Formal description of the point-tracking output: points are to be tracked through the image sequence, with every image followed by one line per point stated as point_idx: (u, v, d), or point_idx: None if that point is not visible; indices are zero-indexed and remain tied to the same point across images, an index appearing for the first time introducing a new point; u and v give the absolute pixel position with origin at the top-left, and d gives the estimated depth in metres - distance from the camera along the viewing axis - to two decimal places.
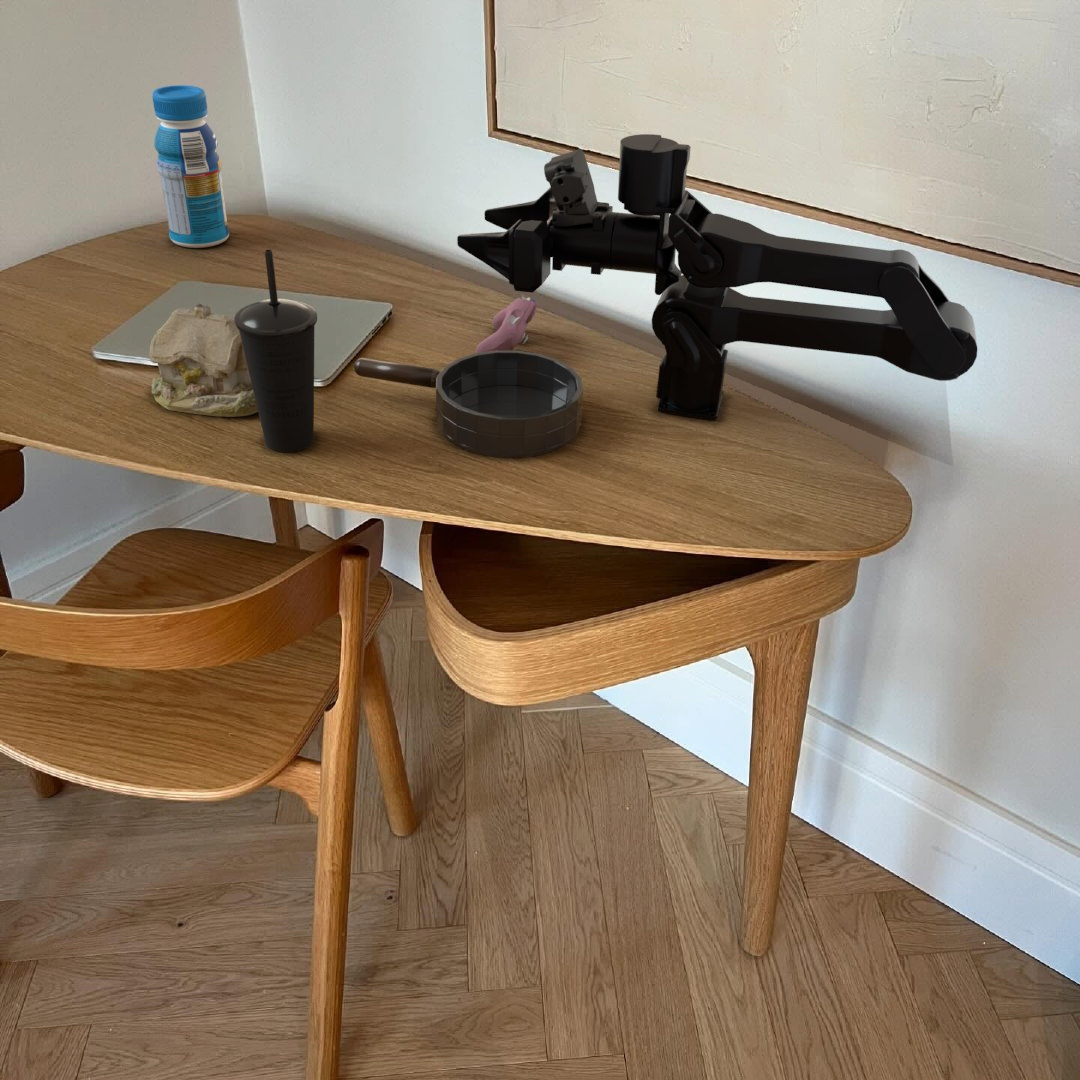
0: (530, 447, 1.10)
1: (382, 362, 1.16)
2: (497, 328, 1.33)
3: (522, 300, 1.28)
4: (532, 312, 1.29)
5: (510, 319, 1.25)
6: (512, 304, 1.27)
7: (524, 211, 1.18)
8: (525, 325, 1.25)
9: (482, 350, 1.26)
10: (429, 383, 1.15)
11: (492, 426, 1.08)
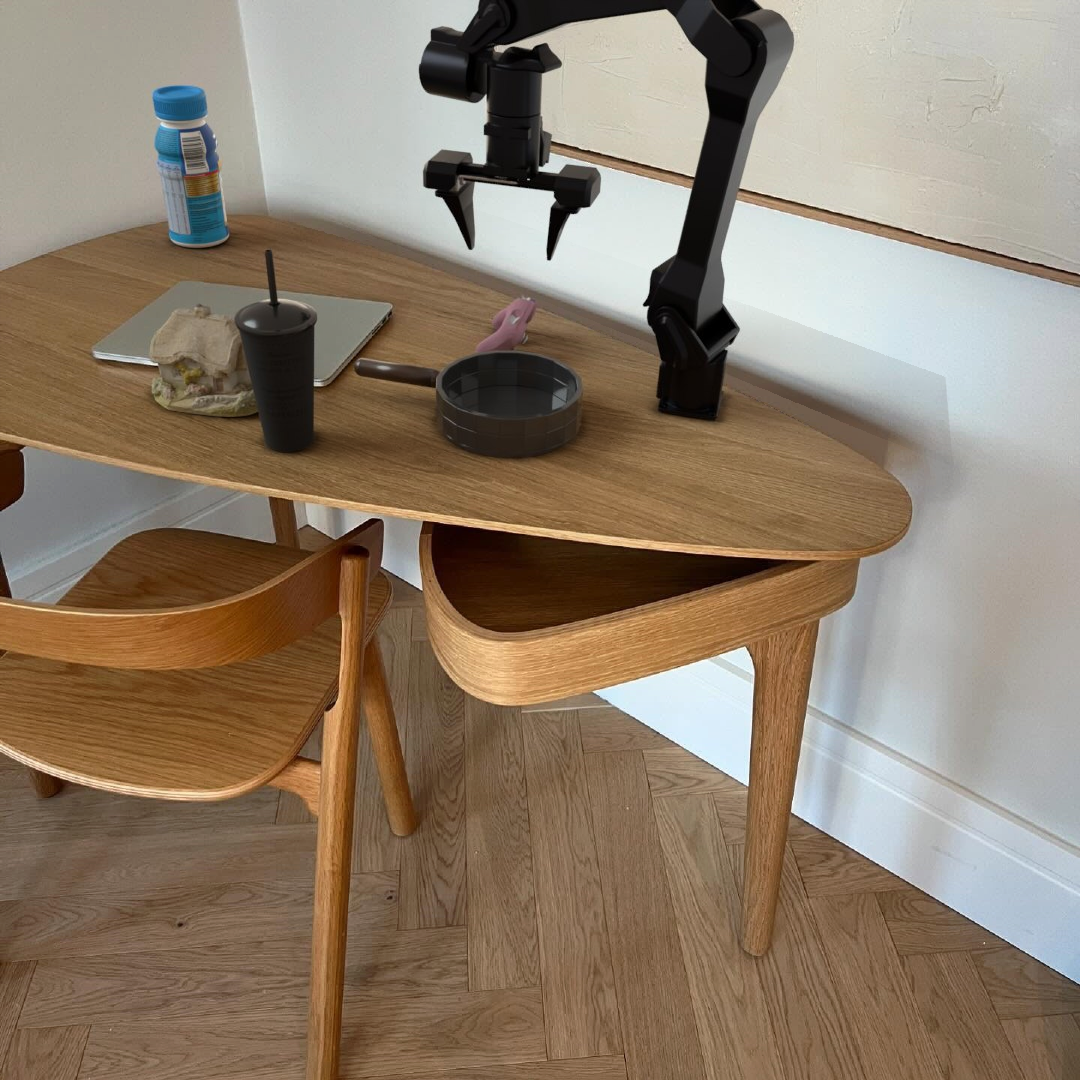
0: (530, 447, 1.10)
1: (382, 362, 1.16)
2: (497, 328, 1.33)
3: (522, 300, 1.28)
4: (532, 312, 1.29)
5: (510, 319, 1.25)
6: (512, 304, 1.27)
7: None
8: (525, 325, 1.25)
9: (482, 350, 1.26)
10: (429, 383, 1.15)
11: (492, 426, 1.08)
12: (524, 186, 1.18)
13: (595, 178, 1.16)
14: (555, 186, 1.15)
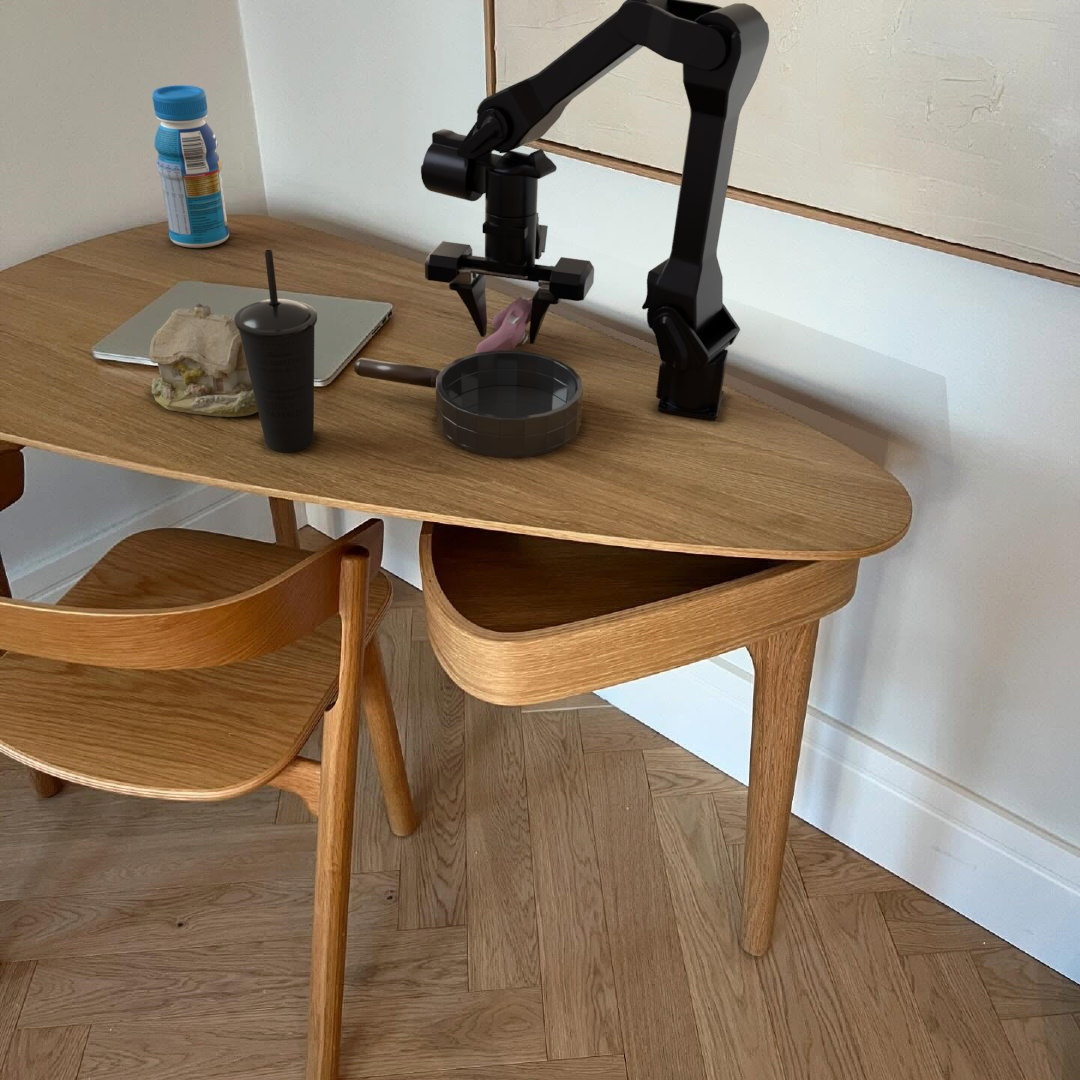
0: (530, 447, 1.10)
1: (382, 362, 1.16)
2: (497, 328, 1.33)
3: (522, 300, 1.28)
4: None
5: (510, 319, 1.25)
6: (512, 304, 1.27)
7: None
8: (525, 325, 1.25)
9: (482, 350, 1.26)
10: (429, 383, 1.15)
11: (492, 426, 1.08)
12: None
13: (588, 272, 1.22)
14: (550, 281, 1.21)
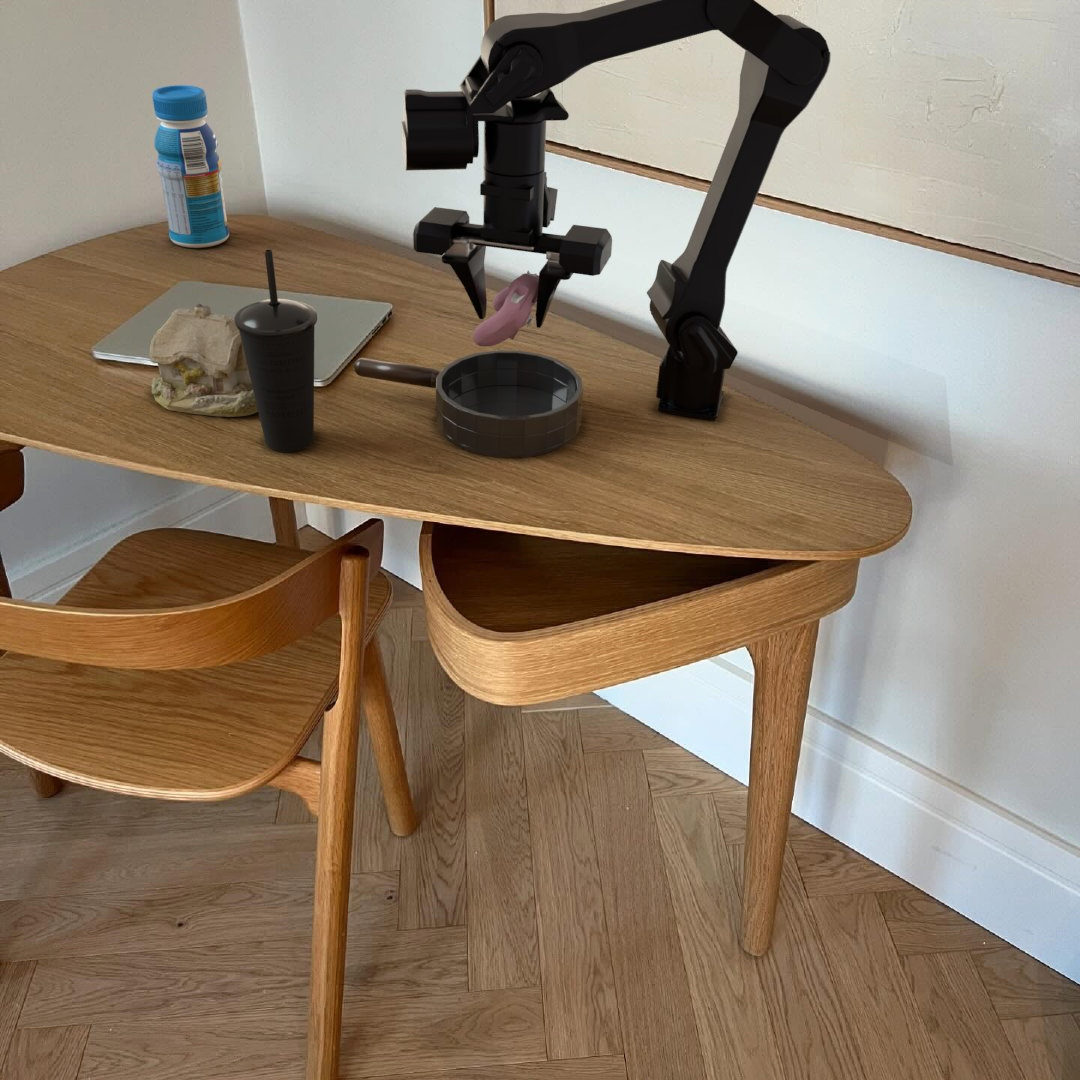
0: (530, 447, 1.10)
1: (382, 362, 1.16)
2: (498, 310, 1.15)
3: (527, 276, 1.09)
4: None
5: (513, 298, 1.06)
6: (516, 280, 1.08)
7: None
8: (531, 305, 1.06)
9: (480, 334, 1.07)
10: (429, 383, 1.15)
11: (492, 426, 1.08)
12: (526, 249, 1.06)
13: (605, 241, 1.04)
14: (560, 251, 1.02)
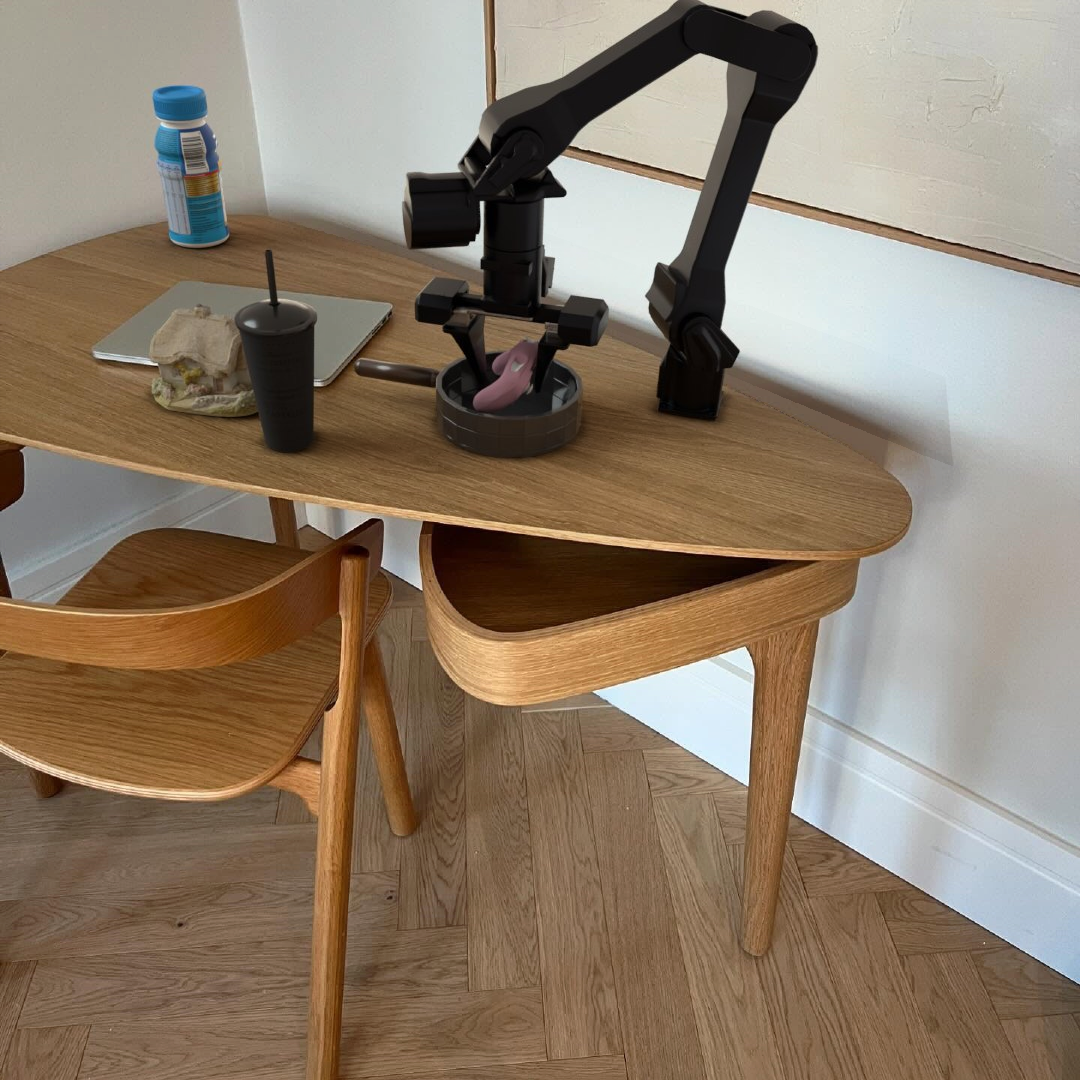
0: (530, 447, 1.10)
1: (382, 362, 1.16)
2: (498, 373, 1.17)
3: (526, 343, 1.12)
4: None
5: (513, 366, 1.09)
6: (515, 348, 1.11)
7: None
8: (530, 373, 1.09)
9: (481, 401, 1.10)
10: (429, 383, 1.15)
11: (492, 426, 1.08)
12: (525, 319, 1.09)
13: (602, 313, 1.06)
14: (559, 324, 1.05)
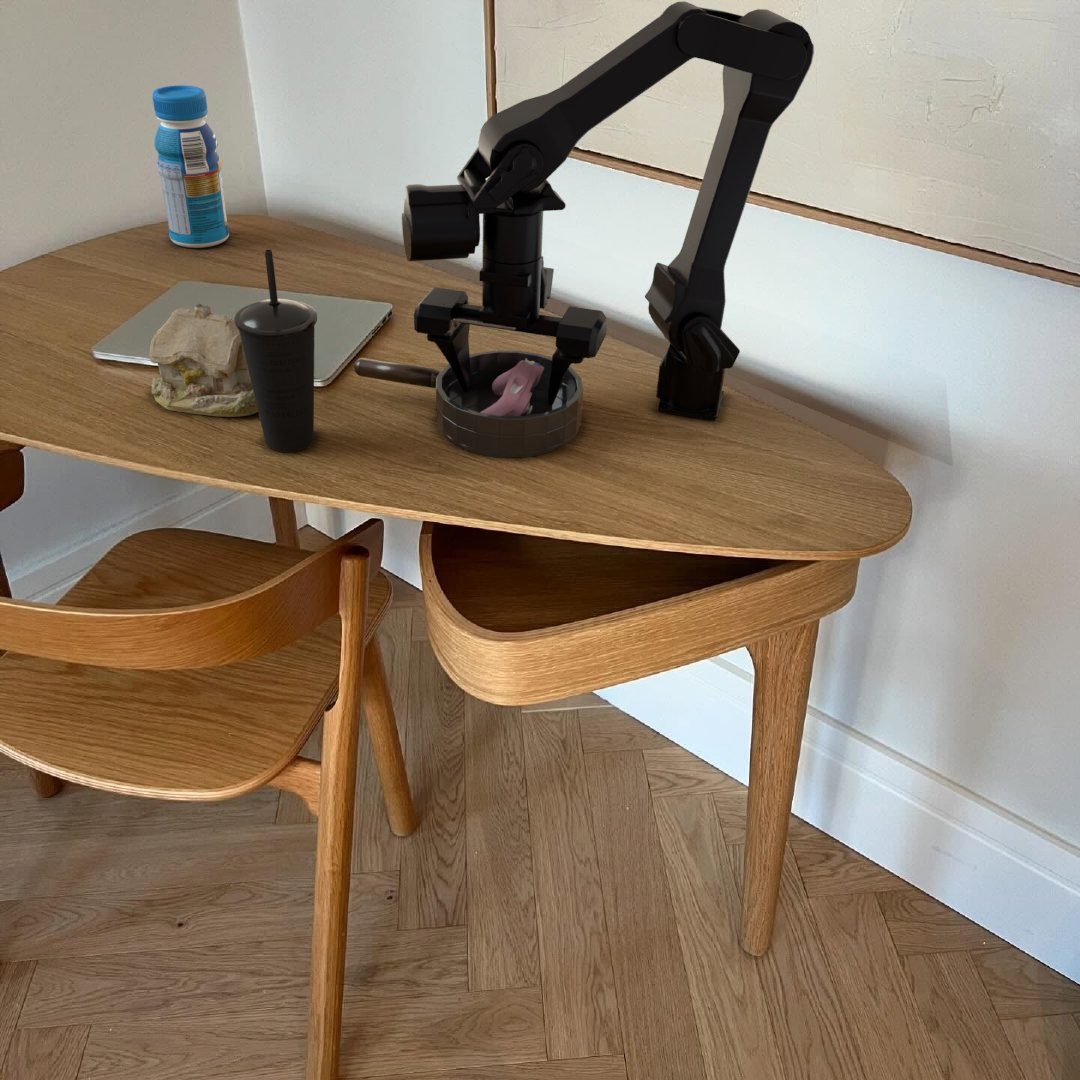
0: (530, 447, 1.10)
1: (382, 362, 1.16)
2: (497, 393, 1.19)
3: (526, 365, 1.13)
4: (537, 378, 1.14)
5: (512, 388, 1.10)
6: (514, 370, 1.12)
7: None
8: (529, 395, 1.10)
9: None
10: (429, 383, 1.15)
11: (492, 426, 1.08)
12: (524, 330, 1.09)
13: (601, 324, 1.07)
14: (557, 335, 1.06)
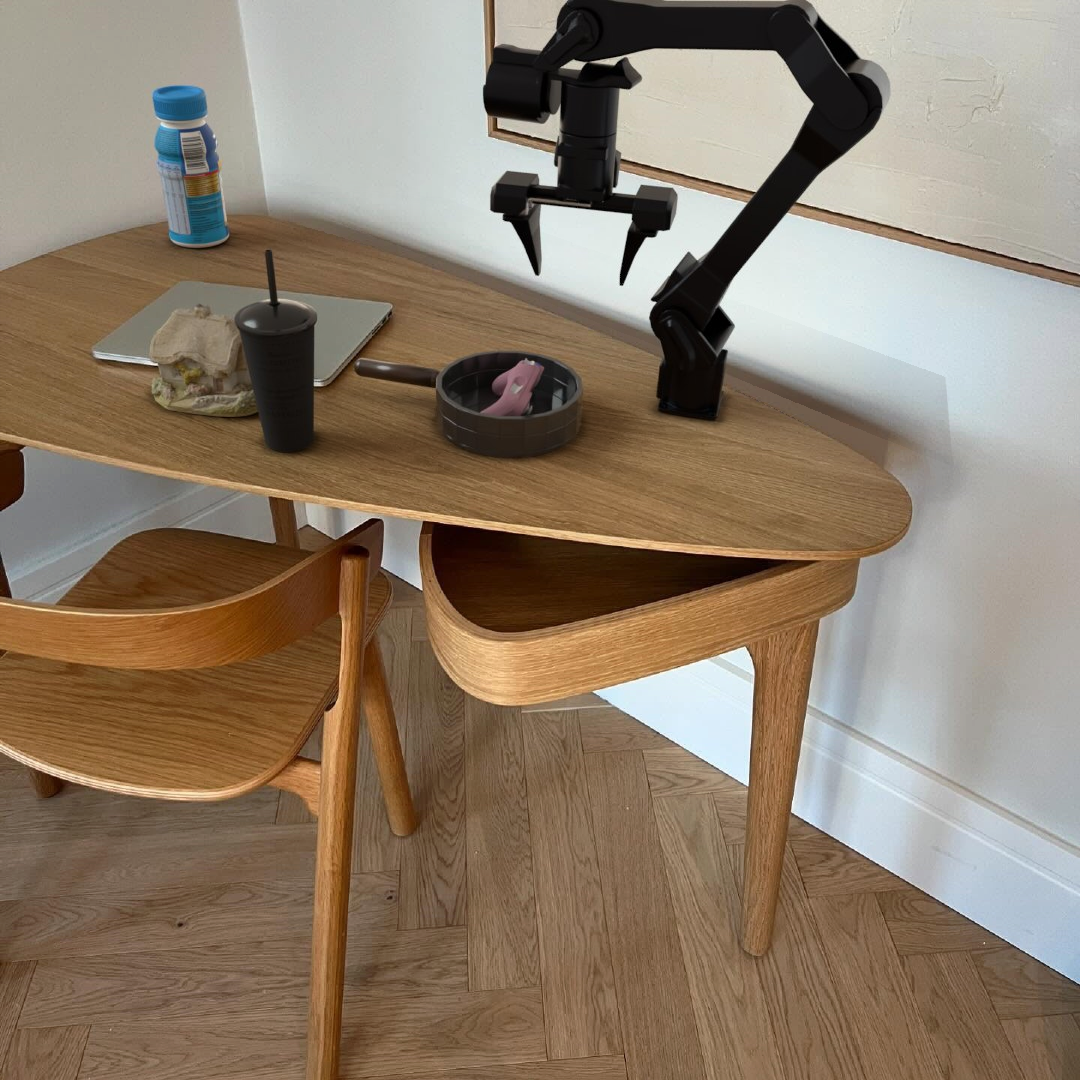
0: (530, 447, 1.10)
1: (382, 362, 1.16)
2: (497, 393, 1.19)
3: (526, 365, 1.13)
4: (537, 378, 1.14)
5: (512, 388, 1.10)
6: (514, 370, 1.12)
7: None
8: (529, 395, 1.10)
9: None
10: (429, 383, 1.15)
11: (492, 426, 1.08)
12: (597, 208, 1.12)
13: (674, 199, 1.10)
14: (633, 208, 1.09)
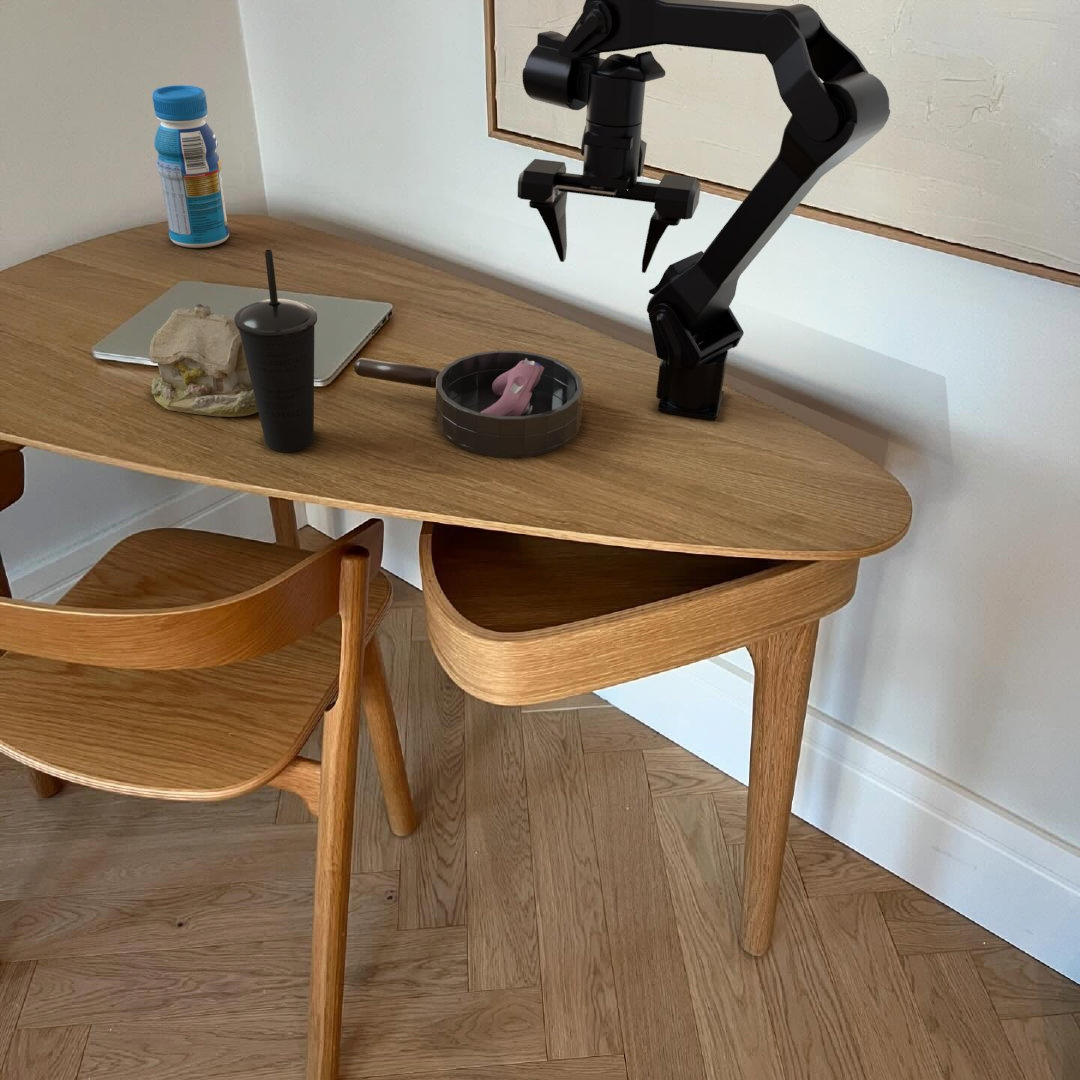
0: (530, 447, 1.10)
1: (382, 362, 1.16)
2: (497, 393, 1.19)
3: (526, 365, 1.13)
4: (537, 378, 1.14)
5: (512, 388, 1.10)
6: (514, 370, 1.12)
7: None
8: (529, 395, 1.10)
9: None
10: (429, 383, 1.15)
11: (492, 426, 1.08)
12: (621, 197, 1.15)
13: (696, 189, 1.13)
14: (656, 197, 1.12)
